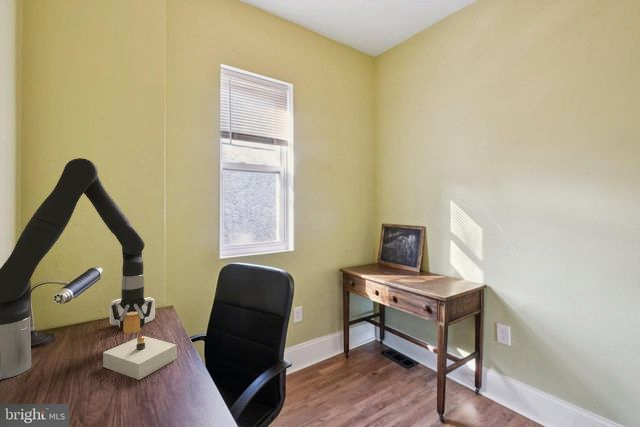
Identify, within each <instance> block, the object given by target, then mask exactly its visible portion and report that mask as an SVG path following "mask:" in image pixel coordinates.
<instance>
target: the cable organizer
mask: <svg viewBox="0 0 640 427" xmlns="http://www.w3.org/2000/svg"><path fill="white" fill-rule="evenodd" d="M144 299H145V301H150V300H152V301H153V302H152V307H151V312H150V315H149V316H148V317H145V324H148V323H149V322H151V321H153V320H154V319H155V317H156V316H155V315H156V300H155V298H153V297H151V296H148V297H144ZM120 302H121V298H117V299H113V300H111V302H109V305H108V306H109V307H108V309H109V311H108V312H109V324H110V325H112V326H118V328H120V321H119V320H115V319H114V316H113V311H112V305H113V304H114V303H120ZM142 309H143V312H144V314H145V313H146V312H147V306H146V304H144V305H143V306H142ZM123 311H124V309H123V308H122V307H121V306H119V308H118V312H119V315H120V316H121V315H122V313H123ZM130 313H137V312H129V313H128V312H127V314H130Z"/></svg>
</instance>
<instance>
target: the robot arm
mask: <svg viewBox="0 0 640 427" xmlns="http://www.w3.org/2000/svg"><path fill="white" fill-rule="evenodd" d="M98 174H99V171H98V167H97V166H96V164H94V162H92V161H91V160H90V159H88V158H83V157H82V158H81V157H80V158H79V157H78V158H73V159H71V160H70V161H68V162H67V163H66V164H65V166H64V168H63V170H62V173H61V175H60V177H59V179H58V181H57V183H56V185H55V186H54V188H53V190H52V191H51V192H50V194H49V195H48V196H47V197H46V198H45V199H44V201H42V203H41V204H40V206H38V208H37V209H36V211H35V212H34V214H33V215H32V217H31V218H30V220H28V222H27V223H26V225H25V227H24V229H23V231H22V232H21V234H20V236H19V238H18V239H17V241H16V243H15V246H14V248H13V250H12V251H11V254H10V255H9V257H8V258H7V259H6V261H5V262H4V263H3V264H2V266H1V267H0V381H1V380H4V379H9V378H13V377H15V376H19V375H22V374H23V373H26V372H27V371H28V370H30V369H31V367H32V348H31V347H32V346H31V345H32V343H31V340H32V339H31V306H32V296H31V295H32V292H31V291H32V289H31V288H32V285H31V284H32V282H31V278H32V277H33V275H34V272H35V270H36V269H37V267H38V266H39V264H40V262H41V261H42V260H43V259H44V257H45V256H46V255H47V254H48V253H49V252H50V250H51V249H52V248H53V247H54V245H56V243H57V241H58V240H59V239H60V237H61V235H62V234H63V232H64V231H65V229H66V227H67V226H68V224H69V222H70V220H71V218H72V216H73V213H75V212H74V211H75V209H76V207H77V204H78V202H79V200H80V198H81V197H82V195H83V194H84V195H85V196H86V198H87V199H88V200H89V202H90V203H91V204H92V206H93V208H94V209H95V210H96V212H97V214H98V215H99V218H101V220H102V221H103V223H104V224H105V226H106V227H107V228H108V230H109V231H110V233H112V234H113V236H115V238H116V239H117V241H118V242H119V244H120V246H121V253H122V267H121V268H122V275H121V295H120V296H121V298H120V299H121V302H120V303H114V304H113V305H112V311H113V316H114V319H115V320H119V321H120V327H119V329H120V330H121V331H123V319H124V317H125V315H126V314H127V312H128V313H129V312H137V313H138V314H139V316H140V318H141V319H140V328H141V329H143V327H145V324H146V323H145V317H148V316H149V315H150V312H151V307H152V302H153V301H152V300H150V301H145V299H144V298H145V276H144V262H143V251H144V250H145V241H144V239H143V238H142V237H141V236H140V233H138V232H137V231H136V229H135V227H133V225H132V223H131V222H130V220H129V218H128V217H127V216H126V214H125V213H124V211H123V210H122V209H121V208H120V206H119V205H118V204H117V203H116V201H114V199H113V198H112V197H111V196H110V194H109V192H107V190H106V188H105V187H104V185H103V184H102V181H101V179H100V177H99V175H98ZM144 304H146V306H147V312H146V313H145V314H144V312H143V309H142V306H143V305H144ZM119 306H121V307H122V308H123V309H124V311H123V313H122V315H121V316H120V315H119V312H118V308H119Z"/></svg>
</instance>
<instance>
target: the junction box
mask: <svg viewBox="0 0 640 427" xmlns="http://www.w3.org/2000/svg"><path fill="white" fill-rule="evenodd" d="M143 336H144V343H145V349H143V350H136V345H137V337H136V338H133V339H131V340H129V341H126V342H124V343H122V344H120V345H117V346H115V347H112V348H110V349H107V350H105V351H103V352H102V360H103V361H102V364H103V365H102V367H103V368H106V369H108V370H112V371H113V372H116V373H119V374H122V375H124V376H127V377H130V378H132V379H136V380H139V381H140V380H142V379H143V378H145V377H146V376H149V375H150V374H152V373H154V372H155V371H157V370H160V369H161V368H163V367H165V366H167V365H168V364H170V363H171V362H174V361H175V360H177V359H178V358H177V355H178V354H177V352H178V351H177V349H178V348H177V344H175V343H171V342H167V341H164V340H161V339H156V338H153V337H150V336H146V335H143Z"/></svg>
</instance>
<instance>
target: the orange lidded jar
mask: <svg viewBox="0 0 640 427" xmlns="http://www.w3.org/2000/svg"><path fill="white" fill-rule="evenodd" d="M140 319H141V318H140V316H139V314H138V313H130V314H126V315H125V317H124V319H123V330H122V331H123V333H125V334H133V333H137V332H139V331H141V329H142V328H140Z"/></svg>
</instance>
